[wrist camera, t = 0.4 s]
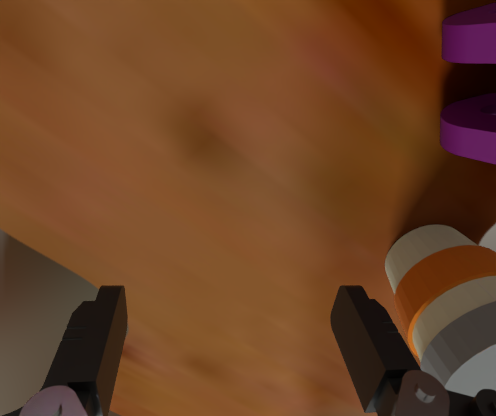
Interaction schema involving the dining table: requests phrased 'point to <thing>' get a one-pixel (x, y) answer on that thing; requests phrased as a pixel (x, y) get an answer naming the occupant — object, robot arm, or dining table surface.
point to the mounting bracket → (476, 108)
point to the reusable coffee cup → (447, 305)
